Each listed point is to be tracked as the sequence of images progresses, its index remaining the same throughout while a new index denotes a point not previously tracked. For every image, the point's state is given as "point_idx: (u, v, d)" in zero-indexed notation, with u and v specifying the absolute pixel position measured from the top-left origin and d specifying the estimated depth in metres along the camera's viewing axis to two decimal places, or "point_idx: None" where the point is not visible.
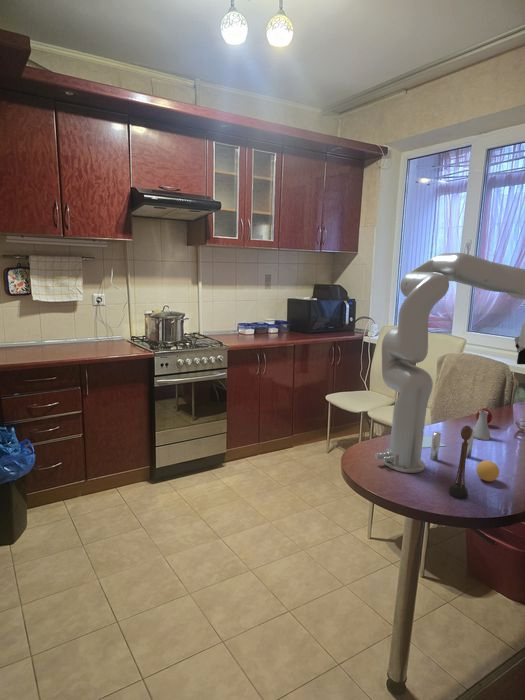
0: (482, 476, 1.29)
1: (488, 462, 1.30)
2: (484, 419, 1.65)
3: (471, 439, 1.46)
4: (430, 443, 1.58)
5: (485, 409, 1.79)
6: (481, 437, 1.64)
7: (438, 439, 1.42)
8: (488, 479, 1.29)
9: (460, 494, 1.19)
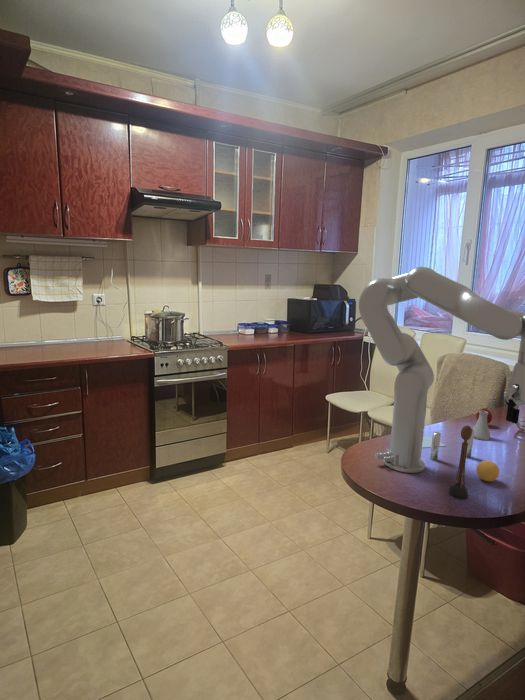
0: (482, 476, 1.29)
1: (488, 462, 1.30)
2: (484, 419, 1.65)
3: (471, 439, 1.46)
4: (430, 443, 1.58)
5: (485, 409, 1.79)
6: (481, 437, 1.64)
7: (438, 439, 1.42)
8: (488, 479, 1.29)
9: (460, 494, 1.19)
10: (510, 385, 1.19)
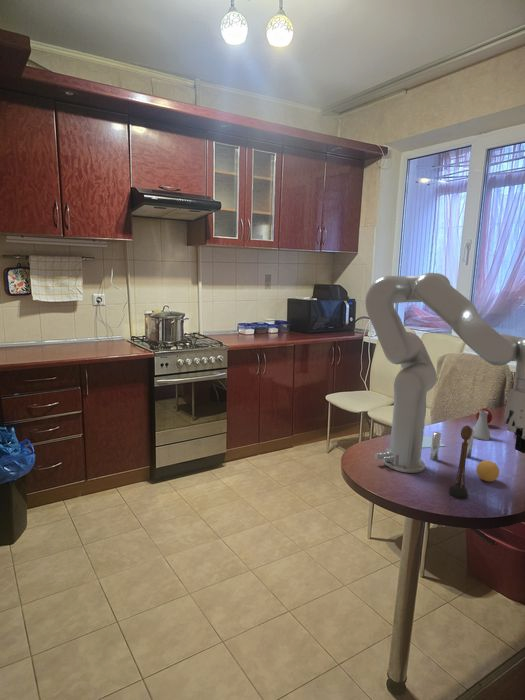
0: (482, 476, 1.29)
1: (488, 462, 1.30)
2: (484, 419, 1.65)
3: (471, 439, 1.46)
4: (430, 443, 1.58)
5: (485, 409, 1.79)
6: (481, 436, 1.64)
7: (438, 439, 1.42)
8: (488, 479, 1.29)
9: (460, 494, 1.19)
10: (506, 411, 1.18)
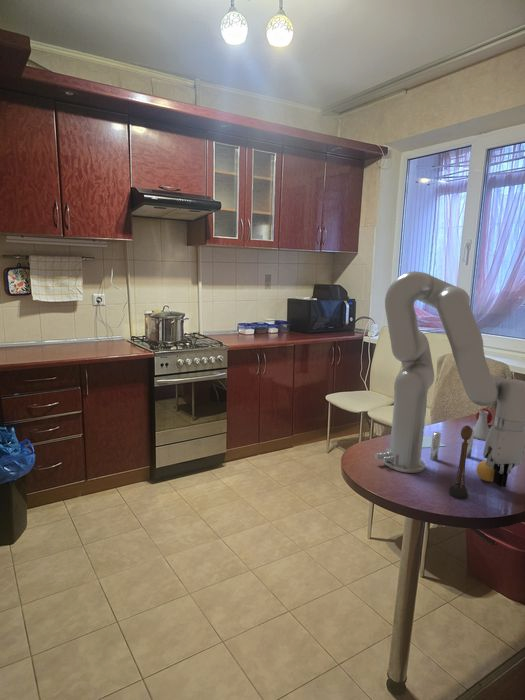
0: (482, 476, 1.29)
1: None
2: (484, 419, 1.65)
3: (471, 439, 1.46)
4: (430, 443, 1.58)
5: (485, 409, 1.79)
6: (481, 436, 1.64)
7: (438, 439, 1.42)
8: (488, 479, 1.29)
9: (460, 494, 1.19)
10: (485, 446, 1.25)
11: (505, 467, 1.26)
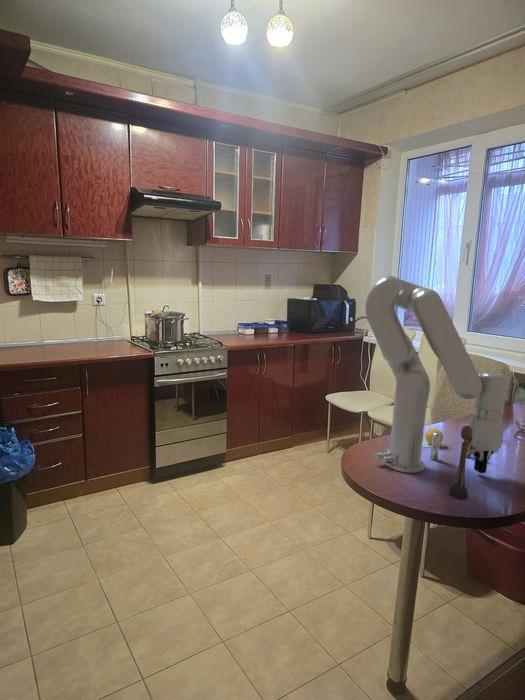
0: (427, 432, 1.57)
1: None
2: None
3: None
4: None
5: None
6: None
7: (438, 439, 1.42)
8: (430, 429, 1.57)
9: (460, 494, 1.19)
10: None
11: (485, 454, 1.33)
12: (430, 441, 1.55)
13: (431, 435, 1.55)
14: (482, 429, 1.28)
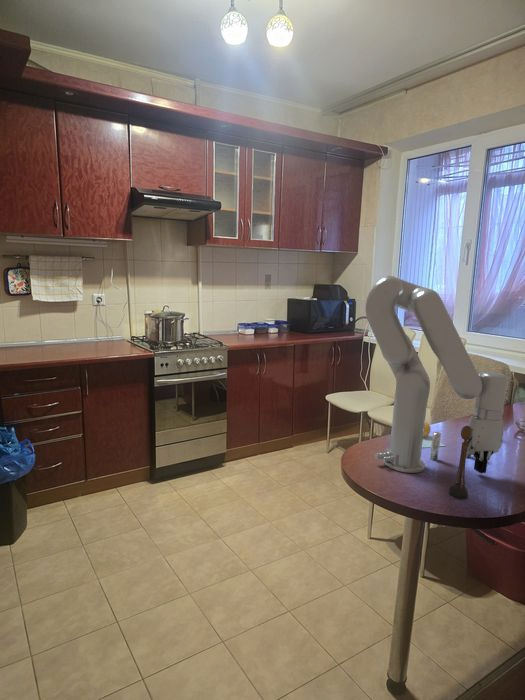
0: None
1: (425, 430, 1.61)
2: None
3: None
4: (430, 443, 1.58)
5: None
6: None
7: (438, 439, 1.42)
8: None
9: (460, 494, 1.19)
10: None
11: (485, 454, 1.33)
12: None
13: None
14: (482, 429, 1.28)
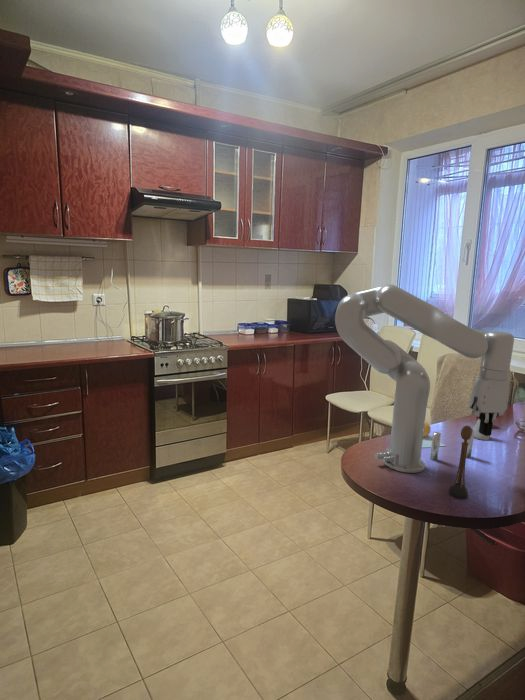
0: None
1: (425, 430, 1.61)
2: None
3: (471, 439, 1.46)
4: (430, 443, 1.58)
5: None
6: (481, 436, 1.64)
7: (438, 439, 1.42)
8: None
9: (460, 494, 1.19)
10: (471, 397, 1.30)
11: (490, 417, 1.31)
12: None
13: None
14: (488, 390, 1.26)
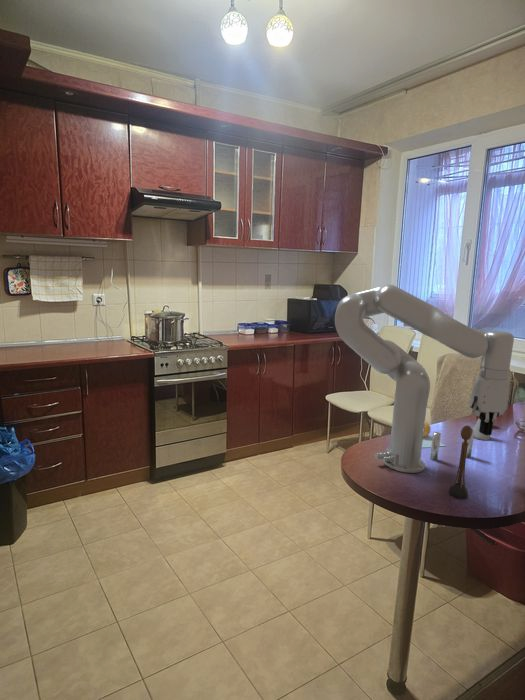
0: None
1: (425, 430, 1.61)
2: None
3: (471, 439, 1.46)
4: (430, 443, 1.58)
5: None
6: (481, 436, 1.64)
7: (438, 439, 1.42)
8: None
9: (460, 494, 1.19)
10: (471, 397, 1.30)
11: (490, 416, 1.31)
12: None
13: None
14: (488, 389, 1.26)
